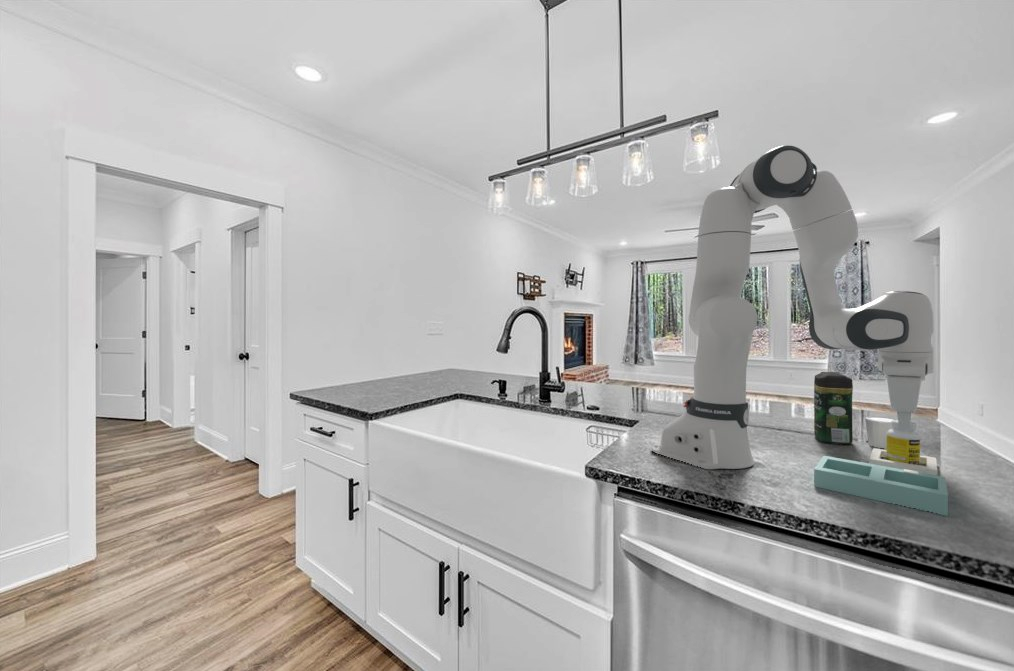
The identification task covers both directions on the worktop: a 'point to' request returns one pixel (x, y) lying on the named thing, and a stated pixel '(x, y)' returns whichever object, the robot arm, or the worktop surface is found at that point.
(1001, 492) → the worktop surface
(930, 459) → the white shallow tray
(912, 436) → the supplement bottle
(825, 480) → the block
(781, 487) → the worktop surface
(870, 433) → the white round container
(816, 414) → the coffee jar
